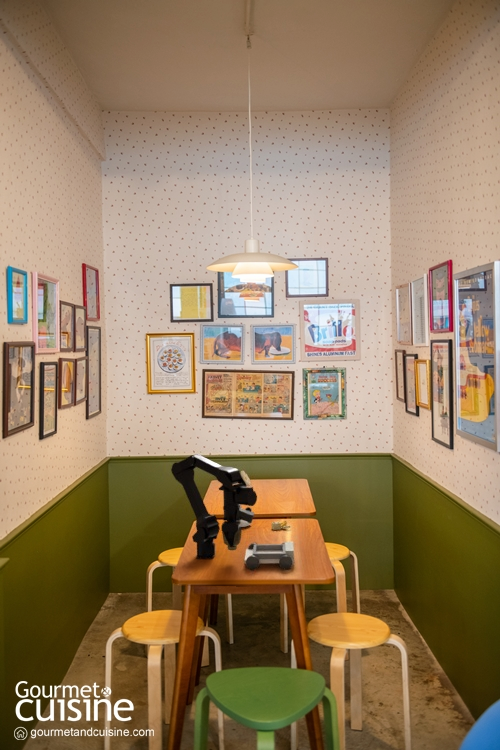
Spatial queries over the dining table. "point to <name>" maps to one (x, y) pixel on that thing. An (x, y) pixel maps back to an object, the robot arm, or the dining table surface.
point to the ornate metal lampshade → (236, 540)
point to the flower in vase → (242, 523)
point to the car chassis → (270, 555)
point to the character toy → (279, 525)
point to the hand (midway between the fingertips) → (232, 544)
